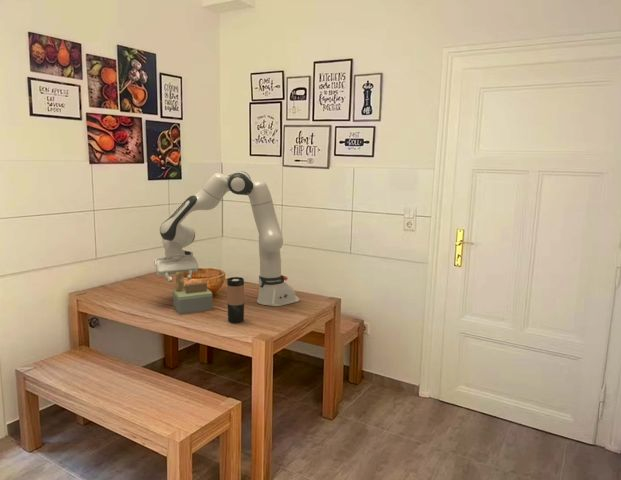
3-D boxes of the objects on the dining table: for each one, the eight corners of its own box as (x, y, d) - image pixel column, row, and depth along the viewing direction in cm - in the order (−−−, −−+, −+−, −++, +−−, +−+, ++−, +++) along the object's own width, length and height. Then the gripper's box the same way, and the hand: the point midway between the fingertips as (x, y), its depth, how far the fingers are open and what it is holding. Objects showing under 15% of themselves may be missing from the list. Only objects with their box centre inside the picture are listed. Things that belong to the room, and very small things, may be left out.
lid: (204, 288, 240) (204, 278, 239) (212, 296, 228) (212, 285, 227) (172, 292, 233) (172, 281, 232) (179, 300, 221) (178, 289, 220)
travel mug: (247, 319, 220) (246, 278, 216) (239, 324, 213) (238, 282, 209) (232, 317, 222) (232, 276, 219) (224, 322, 215) (223, 280, 212)
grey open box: (204, 303, 242) (204, 288, 240) (212, 311, 230) (212, 296, 228) (173, 307, 234) (172, 292, 233) (179, 316, 222) (179, 300, 221)
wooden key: (183, 305, 235) (182, 271, 232) (184, 307, 232) (183, 273, 229) (177, 306, 233) (175, 272, 230) (178, 308, 231) (177, 273, 228)
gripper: (154, 255, 230) (158, 279, 223) (195, 251, 240) (201, 274, 233) (153, 262, 235) (157, 285, 228) (193, 258, 244) (199, 281, 237)
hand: (179, 280), depth 230 cm, fingers open, 8 cm apart
